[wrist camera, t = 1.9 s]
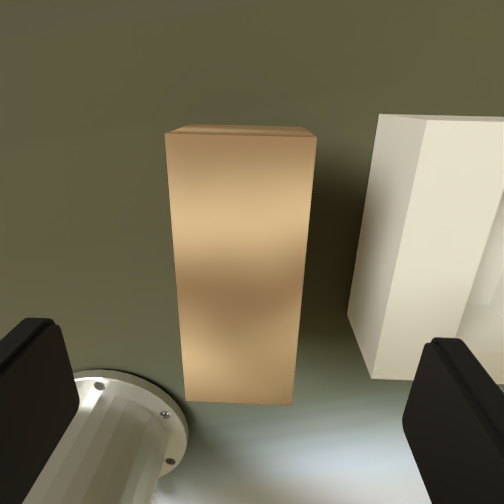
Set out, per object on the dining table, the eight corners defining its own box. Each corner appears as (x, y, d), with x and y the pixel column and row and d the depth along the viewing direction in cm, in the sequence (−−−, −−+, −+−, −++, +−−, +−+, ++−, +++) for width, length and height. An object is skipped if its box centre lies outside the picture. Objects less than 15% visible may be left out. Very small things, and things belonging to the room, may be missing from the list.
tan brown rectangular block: (282, 305, 24) (291, 405, 16) (211, 302, 24) (185, 400, 16) (295, 121, 19) (316, 137, 11) (205, 119, 19) (164, 133, 11)
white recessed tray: (521, 321, 24) (599, 388, 18) (346, 314, 24) (371, 378, 18) (605, 119, 18) (751, 128, 13) (379, 114, 19) (427, 120, 13)
